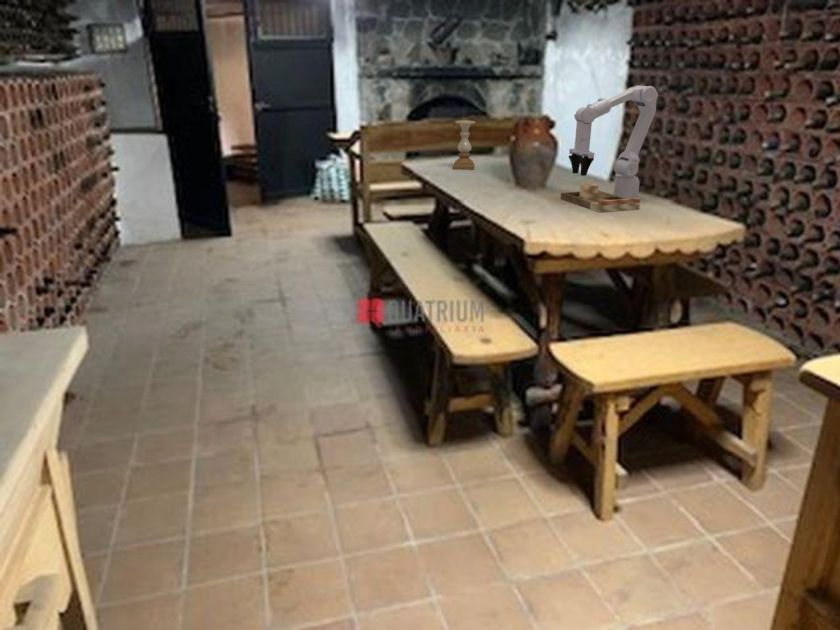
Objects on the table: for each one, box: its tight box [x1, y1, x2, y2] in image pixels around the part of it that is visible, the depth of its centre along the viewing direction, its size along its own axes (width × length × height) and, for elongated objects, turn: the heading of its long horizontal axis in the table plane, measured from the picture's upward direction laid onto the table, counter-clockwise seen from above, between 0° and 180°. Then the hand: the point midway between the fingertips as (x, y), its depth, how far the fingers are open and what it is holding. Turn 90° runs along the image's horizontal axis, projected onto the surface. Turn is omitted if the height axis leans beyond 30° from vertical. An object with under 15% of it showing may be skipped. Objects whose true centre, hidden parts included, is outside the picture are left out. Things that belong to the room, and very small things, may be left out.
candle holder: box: [452, 119, 476, 171], centre depth 340 cm, size 11×11×24 cm
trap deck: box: [560, 189, 641, 213], centre depth 257 cm, size 18×27×4 cm, turn 20°
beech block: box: [579, 183, 600, 199], centre depth 256 cm, size 5×5×5 cm
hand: (579, 174), depth 261 cm, fingers open, 5 cm apart
